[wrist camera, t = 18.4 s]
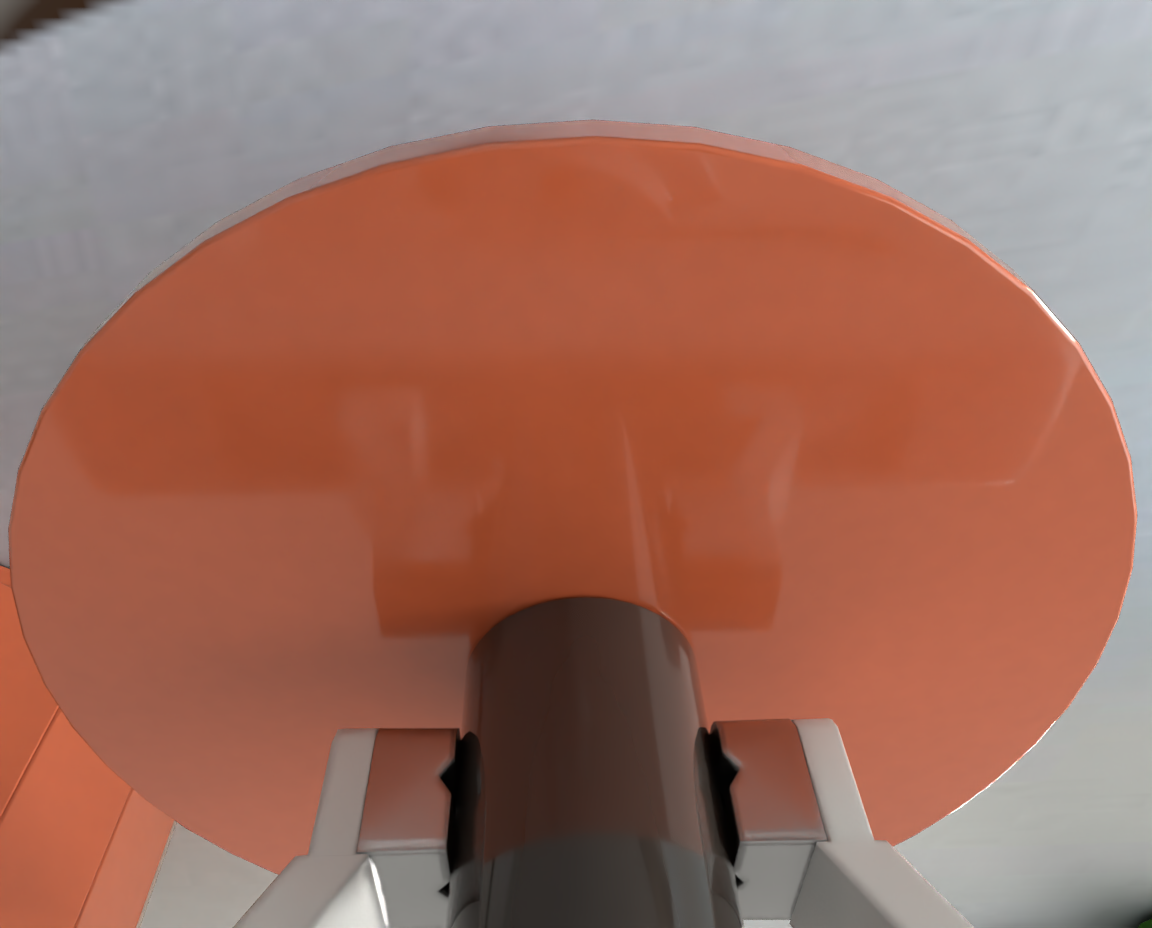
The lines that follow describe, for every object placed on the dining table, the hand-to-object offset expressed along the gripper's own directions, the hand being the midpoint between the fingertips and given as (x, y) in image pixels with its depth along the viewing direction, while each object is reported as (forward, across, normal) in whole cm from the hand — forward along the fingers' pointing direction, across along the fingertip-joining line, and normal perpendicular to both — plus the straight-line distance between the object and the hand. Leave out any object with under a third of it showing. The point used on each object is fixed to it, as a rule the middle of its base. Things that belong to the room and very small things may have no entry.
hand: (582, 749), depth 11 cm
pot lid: (+2, 0, 0) cm, 2 cm away
